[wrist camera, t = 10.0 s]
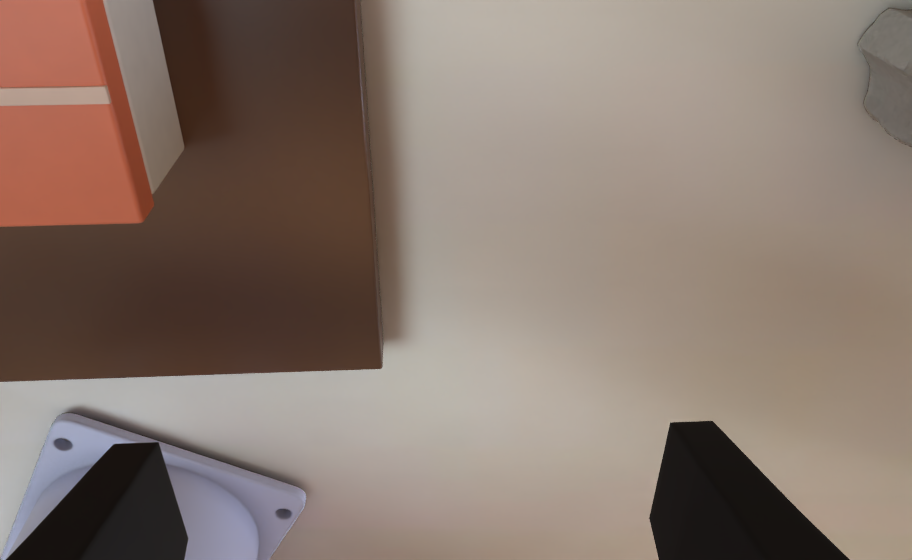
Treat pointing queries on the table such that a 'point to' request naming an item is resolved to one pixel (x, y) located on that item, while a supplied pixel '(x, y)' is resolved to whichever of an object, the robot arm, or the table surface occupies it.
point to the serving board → (222, 217)
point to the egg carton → (890, 72)
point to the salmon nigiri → (83, 112)
